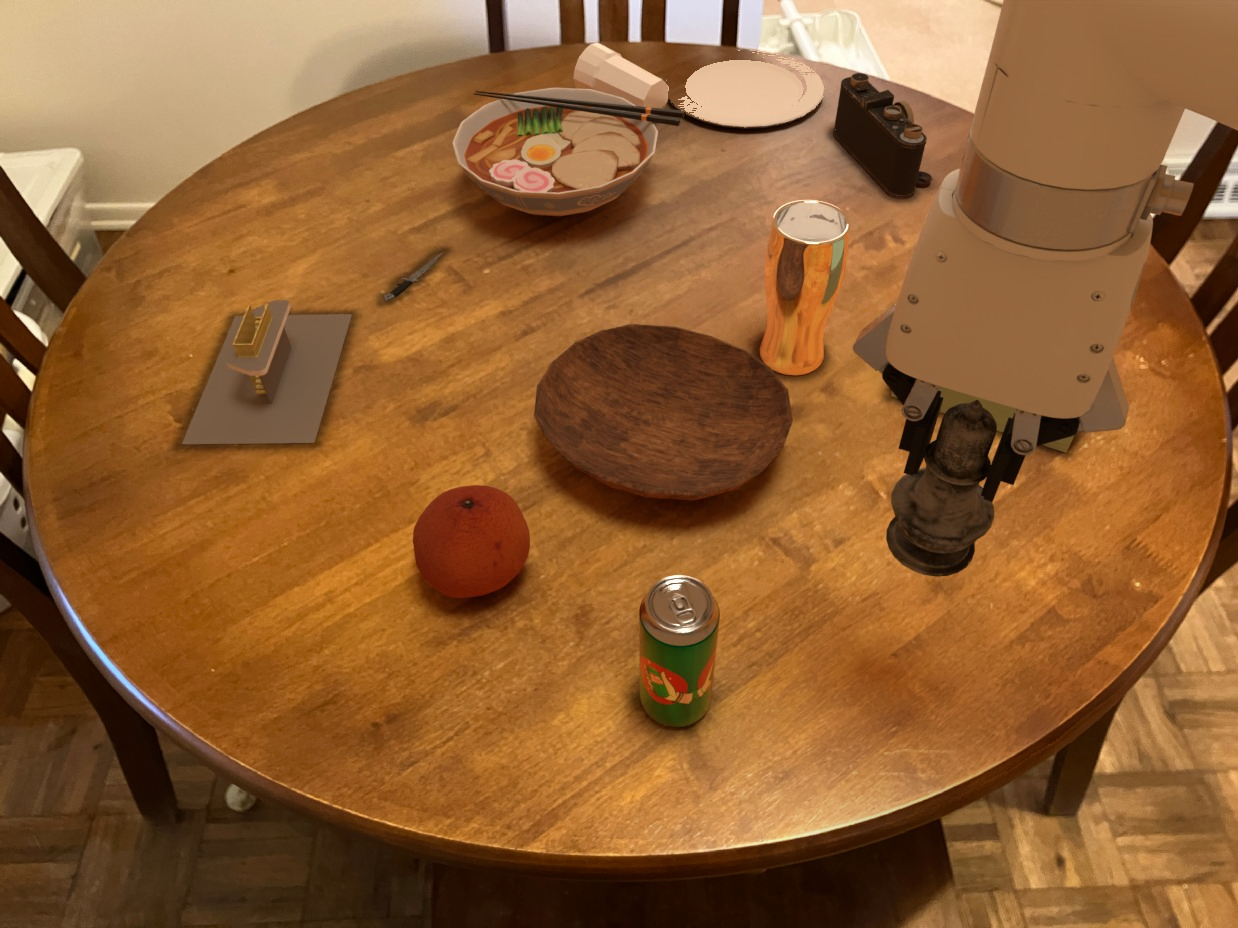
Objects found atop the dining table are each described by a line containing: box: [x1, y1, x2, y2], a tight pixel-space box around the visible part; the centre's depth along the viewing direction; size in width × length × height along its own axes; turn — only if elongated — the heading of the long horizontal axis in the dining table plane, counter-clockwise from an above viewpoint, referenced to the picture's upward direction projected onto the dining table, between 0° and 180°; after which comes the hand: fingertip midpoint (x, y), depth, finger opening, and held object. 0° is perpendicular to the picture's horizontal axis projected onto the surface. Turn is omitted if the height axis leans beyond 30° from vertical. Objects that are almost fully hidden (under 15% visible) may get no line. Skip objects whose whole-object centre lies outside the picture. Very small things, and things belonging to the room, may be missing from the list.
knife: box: [383, 252, 443, 303], centre depth 102 cm, size 10×2×1 cm, turn 144°
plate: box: [668, 49, 826, 130], centre depth 127 cm, size 21×21×2 cm
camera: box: [832, 72, 933, 199], centre depth 113 cm, size 16×7×8 cm, turn 18°
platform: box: [181, 299, 353, 445], centre depth 90 cm, size 12×18×7 cm, turn 0°
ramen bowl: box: [451, 87, 685, 217], centre depth 109 cm, size 25×23×8 cm
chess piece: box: [885, 400, 998, 578], centre depth 55 cm, size 6×6×12 cm
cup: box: [572, 42, 669, 116], centre depth 123 cm, size 7×7×11 cm
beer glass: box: [759, 199, 852, 376], centre depth 87 cm, size 7×7×15 cm
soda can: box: [638, 574, 721, 728], centre depth 64 cm, size 5×5×12 cm
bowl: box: [533, 323, 794, 501], centre depth 84 cm, size 20×22×5 cm
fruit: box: [412, 484, 531, 599], centre depth 74 cm, size 9×9×8 cm
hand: (954, 468), depth 54 cm, fingers closed on chess piece, 3 cm apart
